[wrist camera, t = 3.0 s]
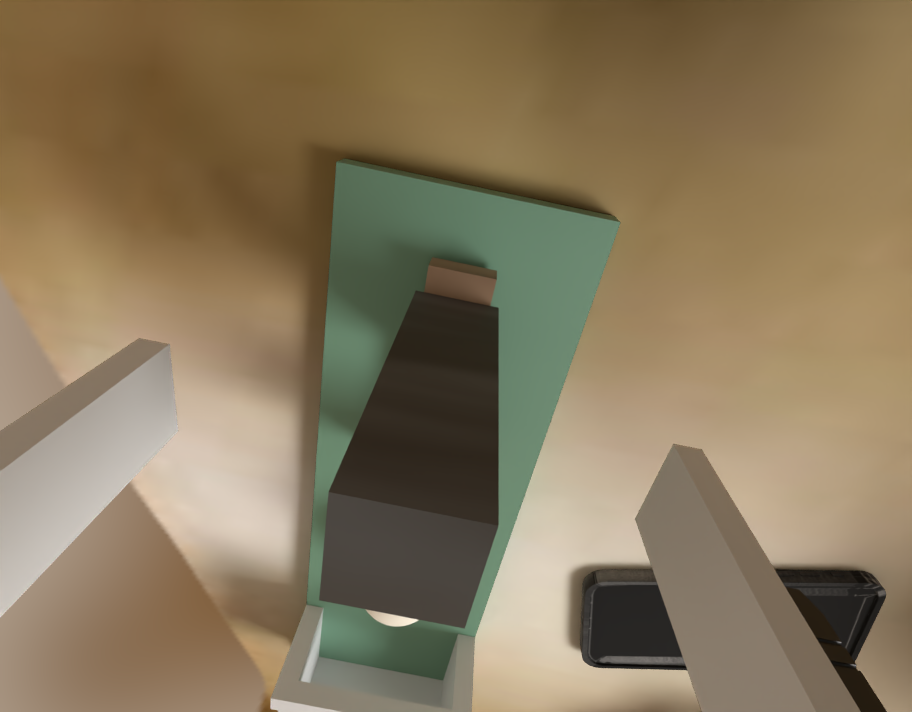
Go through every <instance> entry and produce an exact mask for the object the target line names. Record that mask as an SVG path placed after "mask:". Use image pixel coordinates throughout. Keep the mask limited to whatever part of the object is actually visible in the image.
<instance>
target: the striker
mask: <svg viewBox="0 0 912 712" xmlns="http://www.w3.org/2000/svg"><path fill="white" fill-rule="evenodd" d="M496 281H497V271H496V270H492V269H487V268H482V267H477V266H473V265H468V264H463V263H458V262H454V261H449V260H444V259H439V258H434V257H432V259H431V261H430V263H429V267H428V272H427V278H426V284H425V290H424V292H421V291H415V294H414V296H413V298H412V300H411V303H410V305H409V307H408V310H407V312H406V314H405V317H404V319H403V321H402V324H401V326H400V328H399V330H398V333H397V335H396V337H395V340H394V342H393V344H392V347H391V349H390V351H389V353H388V356H387V358H386V360H385V363H384V365H383V367H382V370H381V372H380V374H379V377H378V379H377V381H376V383H375V386H374V388H373V390H372V393H371V395H370V397H369V400H368V402H367V404H366V407H365V409H364V411H363V413H362V416H361V418H360V420H359V423H358V425H357V427H356V430H355V432H354V434H353V437H352V439H351V441H350V443H349V446H348V448H347V450H346V453H345V455H344V457H343V460H342V462H341V464H340V467H339V469H338V471H337V473H336V476H335V478H334V480H333V483H332V485H331V487H330V490H329V492H328V503H327V515H326V526H325V538H324V549H323V561H322V572H321V584H320V595H319V600H320V601H325V602H330V603H335V604H340V605H345V606H351V607H356V608H361V609H366V610H371V611H376V612H381V613H387V614H392V615H397V616H402V617H407V618H412V619H417V620H423V621H428V622H433V623H438V624H443V625H448V626H453V627H459V628H464V629H465V626H466V623H467V620H468V617H469V614H470V611H471V608H472V605H473V602H474V599H475V596H476V593H477V590H478V587H479V584H480V581H481V578H482V575H483V572H484V569H485V566H486V563H487V560H488V557H489V554H490V550H491V547H492V544H493V541H494V538H495V535H496V532H497V529H498V526H499V308H498V307H493V306H490V305H491V301H492V297H493V293H494V289H495V285H496Z"/></svg>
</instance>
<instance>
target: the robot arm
mask: <svg viewBox="0 0 912 712" xmlns="http://www.w3.org/2000/svg"><path fill="white" fill-rule="evenodd" d="M177 432H178V424H177V414H176V404H175V394H174V384H173V374H172V364H171V354H170V344H166V343H161V342H156V341H151V340H146V339H141V338H139V339H137V340H136V341H134V342H133V343H131V344H130V345H128V346H127V347H125V348H124V349H122V350H121V351H119V352H118V353H116V354H115V355H113V356H112V357H110V358H109V359H107V360H106V361H104V362H103V363H101V364H100V365H98V366H97V367H95V368H94V369H92V370H91V371H89V372H88V373H86V374H85V375H83V376H82V377H80V378H79V379H77V380H76V381H74V382H73V383H71V384H70V385H68V386H67V387H65V388H64V389H62V390H61V391H60V392H58V393H57V394H55V395H53V396H52V397H50V398H49V399H47V400H46V401H44V402H43V403H42V404H40V405H38V406H37V407H36V408H34V409H32V410H31V411H29V412H28V413H26V414H25V415H23V416H22V417H21V418H19V419H18V420H16V421H14V422H13V423H11V424H10V425H8V426H7V427H6V428H4V429H3V430H1V431H0V617H1V616H2V615H3V614H4V613H5V612H6V611H7V610H8V609H9V608H10V607H11V606H12V605H13V604H14V603H15V601H16V600H17V599H18V598H19V597H20V596H21V595H22V594H23V593H24V592H25V591H26V590H27V589H28V588H29V587H30V586H31V585H32V584H33V583H34V582H35V580H37V578H38V577H39V576H40V575H41V574H42V573H43V572H44V571H45V570H46V569H47V568H48V567H49V566H50V565H51V564H52V563H53V562H54V561H55V560H56V558H58V556H59V555H60V554H61V553H62V552H63V551H64V550H65V549H66V548H67V547H68V546H69V545H70V544H71V543H72V542H73V541H74V540H75V539H76V538H77V537H78V535H79V534H80V533H81V532H82V531H83V530H84V529H85V528H86V527H87V526H88V525H89V524H90V523H91V522H92V521H93V520H94V519H95V518H96V517H97V516H98V515H99V514H100V512H101V511H102V510H103V509H104V508H105V507H106V506H107V505H108V504H109V503H110V502H111V501H112V500H113V499H114V498H115V497H116V496H117V495H118V494H119V493H120V491H121V490H122V489H123V488H124V487H125V486H126V485H127V484H128V483H129V482H130V481H131V480H132V479H133V478H134V477H135V476H136V475H137V474H138V473H139V472H140V471H141V470H142V468H143V467H144V466H145V465H146V464H147V463H148V462H149V461H150V460H151V459H152V458H153V457H154V456H155V455H156V454H157V453H158V452H159V451H160V450H161V449H162V448H163V446H164V445H165V444H166V443H167V442H168V441H169V440H170V439H171V438H172V437H173V436H174V435H175V434H176V433H177ZM635 520H636V523H637V526H638V529H639V531H640V534H641V537H642V540H643V543H644V546H645V549H646V552H647V555H648V558H649V560H650V563H651V566H652V569H653V572H654V575H655V578H656V581H657V584H658V587H659V589H660V592H661V595H662V598H663V601H664V604H665V607H666V610H667V613H668V616H669V618H670V621H671V624H672V627H673V630H674V633H675V636H676V639H677V642H678V645H679V647H680V650H681V653H682V656H683V659H684V662H685V665H686V668H687V671H688V673H689V676H690V679H691V682H692V685H693V688H694V691H695V694H696V697H697V700H698V702H699V705H700V708H701V711H702V712H887V711H886V710H885V708H884V707H883V705H882V704H881V702H880V700H879V699H878V697H877V696H876V694H875V693H874V691H873V690H872V688H871V687H870V685H869V684H868V682H867V680H866V679H865V677H864V676H863V674H862V673H861V671H858V670H857V669H856V663H855V662H854V660H853V659H852V657H851V656H850V654H849V653H848V651H847V650H846V648H844V647H842V646H841V643H842V642H841V640H840V639H839V637H838V636H837V634H836V633H835V631H834V630H833V628H832V627H831V625H830V623H829V622H828V620H827V619H826V617H825V616H824V614H823V613H822V612H821V611H820V610H819V609H818V608H817V607H816V606H815V605H814V604H813V603H812V602H811V601H810V600H809V599H808V598H807V597H806V596H805V595H804V594H803V593H802V592H801V591H800V590H799V589H793V588H788V587H785V586H784V584H783V583H782V581H781V579H780V578H779V576H778V574H777V573H776V571H775V569H774V568H773V566H772V564H771V563H770V561H769V560H768V558H767V556H766V555H765V553H764V551H763V550H762V548H761V546H760V545H759V543H758V541H757V540H756V538H755V536H754V535H753V533H752V531H751V530H750V528H749V527H748V525H747V523H746V522H745V520H744V518H743V517H742V515H741V513H740V512H739V510H738V508H737V507H736V505H735V503H734V502H733V500H732V499H731V497H730V495H729V494H728V492H727V490H726V489H725V487H724V485H723V484H722V482H721V480H720V479H719V477H718V475H717V474H716V472H715V470H714V469H713V467H712V466H711V464H710V462H709V461H708V459H707V457H706V456H705V454H704V452H703V451H702V449H697V448H692V447H687V446H682V445H677V444H673V446H672V448H671V450H670V451H669V453H668V455H667V457H666V459H665V461H664V463H663V465H662V467H661V469H660V471H659V473H658V475H657V477H656V479H655V481H654V483H653V485H652V487H651V489H650V491H649V493H648V495H647V497H646V499H645V501H644V503H643V505H642V506H641V508H640V510H639V512H638V514H637V516H636V518H635Z"/></svg>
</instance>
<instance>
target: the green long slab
mask: <svg viewBox="0 0 912 712" xmlns="http://www.w3.org/2000/svg"><path fill="white" fill-rule="evenodd" d="M619 225H620V221H619V220H618V219H617V218H616V217H615V216H611V215H606V214H602V213H597V212H592V211H588V210H583V209H578V208H574V207H569V206H564V205H560V204H555V203H550V202H546V201H541V200H536V199H532V198H527V197H522V196H518V195H513V194H508V193H504V192H499V191H494V190H490V189H485V188H480V187H476V186H471V185H466V184H462V183H457V182H452V181H447V180H443V179H438V178H433V177H429V176H424V175H419V174H415V173H410V172H405V171H401V170H396V169H391V168H387V167H382V166H377V165H373V164H368V163H363V162H359V161H354V160H349V159H342V160H339V161H337V162H336V175H335V190H334V205H333V220H332V235H331V249H330V264H329V279H328V294H327V309H326V323H325V338H324V353H323V368H322V382H321V397H320V412H319V427H318V442H317V456H316V471H315V486H314V501H313V515H312V530H311V545H310V560H309V575H308V589H307V604H306V607H305V610H304V612H303V615H302V618H301V620H300V623H299V626H298V628H297V631H296V633H295V636H294V639H293V641H292V644H291V647H290V649H289V652H288V654H287V657H286V660H285V662H284V665H283V668H282V670H281V673H280V675H279V678H278V681H277V683H276V686H275V689H274V691H273V694H272V697H271V709H274V710H278V712H472V690H473V667H474V645H475V635H476V633H477V630H478V627H479V624H480V621H481V618H482V615H483V613H484V610H485V607H486V604H487V601H488V598H489V595H490V593H491V590H492V587H493V584H494V581H495V578H496V576H497V573H498V570H499V567H500V564H501V561H502V558H503V556H504V553H505V550H506V547H507V544H508V541H509V539H510V536H511V533H512V530H513V527H514V524H515V521H516V519H517V516H518V513H519V510H520V507H521V504H522V502H523V499H524V496H525V493H526V490H527V487H528V484H529V482H530V479H531V476H532V473H533V470H534V467H535V464H536V462H537V459H538V456H539V453H540V450H541V447H542V445H543V442H544V439H545V436H546V433H547V430H548V427H549V425H550V422H551V419H552V416H553V413H554V410H555V408H556V405H557V402H558V399H559V396H560V393H561V390H562V388H563V385H564V382H565V379H566V376H567V373H568V371H569V368H570V365H571V362H572V359H573V356H574V353H575V351H576V348H577V345H578V342H579V339H580V336H581V333H582V331H583V328H584V325H585V322H586V319H587V316H588V314H589V311H590V308H591V305H592V302H593V299H594V296H595V294H596V291H597V288H598V285H599V282H600V279H601V277H602V274H603V271H604V268H605V265H606V262H607V259H608V257H609V254H610V251H611V248H612V245H613V242H614V240H615V237H616V234H617V231H618V228H619ZM432 257H434V258H439V259H444V260H449V261H454V262H458V263H463V264H468V265H473V266H477V267H482V268H487V269H492V270H496V271H497V281H496V285H495V289H494V293H493V297H492V301H491V305H490V306H493V307H498V308H499V526H498V529H497V532H496V535H495V538H494V541H493V544H492V547H491V550H490V554H489V557H488V560H487V563H486V566H485V569H484V572H483V575H482V578H481V581H480V584H479V587H478V590H477V593H476V596H475V599H474V602H473V605H472V608H471V611H470V614H469V617H468V620H467V623H466V626H465V629H464V628H459V627H453V626H448V625H443V624H438V623H433V622H428V621H423V620H418V621H416V622H414V623H412V624H409V625H406V626H388V625H385V624H383V623H380V622H378V621H377V620H375V619H374V618H373V617H372V616H371V615H370V614H369V613H368V612H367V611H366V610H365V609H361V608H356V607H351V606H345V605H340V604H335V603H330V602H325V601H320V600H319V595H320V584H321V572H322V561H323V549H324V538H325V526H326V515H327V503H328V492H329V490H330V487H331V485H332V483H333V480H334V478H335V476H336V473H337V471H338V469H339V467H340V464H341V462H342V460H343V457H344V455H345V453H346V450H347V448H348V446H349V443H350V441H351V439H352V437H353V434H354V432H355V430H356V427H357V425H358V423H359V420H360V418H361V416H362V413H363V411H364V409H365V407H366V404H367V402H368V400H369V397H370V395H371V393H372V390H373V388H374V386H375V383H376V381H377V379H378V377H379V374H380V372H381V370H382V367H383V365H384V363H385V360H386V358H387V356H388V353H389V351H390V349H391V347H392V344H393V342H394V340H395V337H396V335H397V333H398V330H399V328H400V326H401V324H402V321H403V319H404V317H405V314H406V312H407V310H408V307H409V305H410V303H411V300H412V298H413V296H414V294H415V291H421V292H424V290H425V284H426V278H427V272H428V267H429V263H430V261H431V259H432Z"/></svg>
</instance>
